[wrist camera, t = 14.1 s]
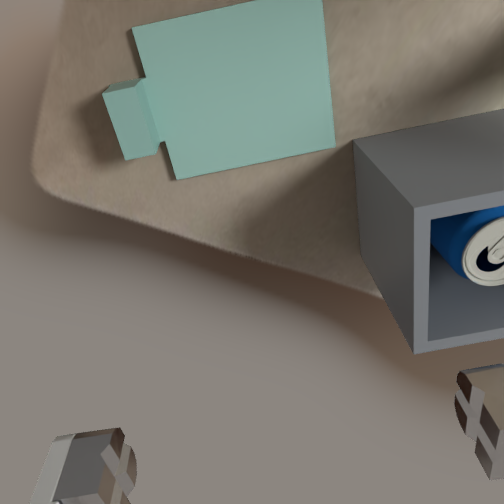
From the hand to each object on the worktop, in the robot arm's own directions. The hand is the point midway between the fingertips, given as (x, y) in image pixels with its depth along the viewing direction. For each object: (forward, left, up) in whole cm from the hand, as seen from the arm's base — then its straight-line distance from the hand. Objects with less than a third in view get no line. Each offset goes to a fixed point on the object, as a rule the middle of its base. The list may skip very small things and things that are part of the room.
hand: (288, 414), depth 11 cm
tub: (+10, +16, -30) cm, 35 cm away
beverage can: (+10, +16, -30) cm, 36 cm away
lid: (-2, -1, -30) cm, 30 cm away
